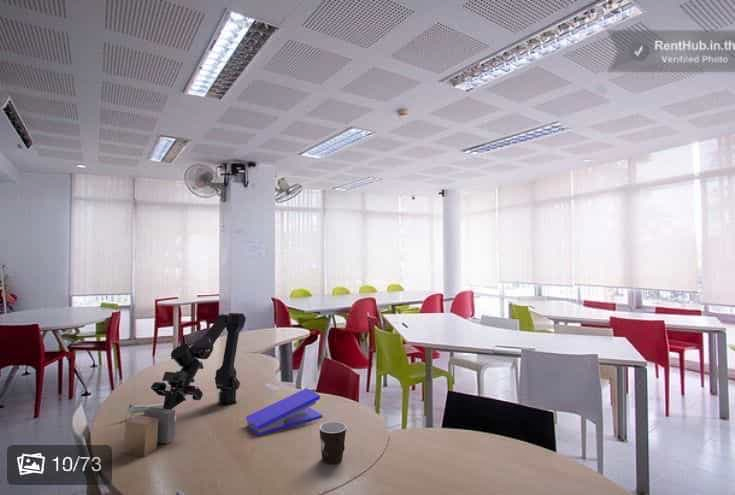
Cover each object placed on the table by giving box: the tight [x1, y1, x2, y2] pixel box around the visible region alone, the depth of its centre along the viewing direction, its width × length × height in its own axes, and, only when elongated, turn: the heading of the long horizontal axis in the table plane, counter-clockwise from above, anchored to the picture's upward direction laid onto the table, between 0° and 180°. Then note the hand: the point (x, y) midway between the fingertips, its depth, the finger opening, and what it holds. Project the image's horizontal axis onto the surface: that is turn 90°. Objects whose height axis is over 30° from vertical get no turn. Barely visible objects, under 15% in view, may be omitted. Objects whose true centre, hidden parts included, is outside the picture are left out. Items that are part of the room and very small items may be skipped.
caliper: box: [125, 403, 164, 421], centre depth 155 cm, size 20×1×6 cm, turn 151°
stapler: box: [245, 387, 323, 436], centre depth 148 cm, size 12×28×10 cm, turn 130°
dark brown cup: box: [318, 421, 347, 465], centre depth 118 cm, size 12×9×10 cm
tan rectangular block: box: [123, 414, 177, 457], centre depth 128 cm, size 16×8×10 cm, turn 166°
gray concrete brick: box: [144, 407, 176, 445], centre depth 130 cm, size 3×10×10 cm, turn 76°
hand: (163, 413), depth 132 cm, fingers closed, pressing on gray concrete brick
